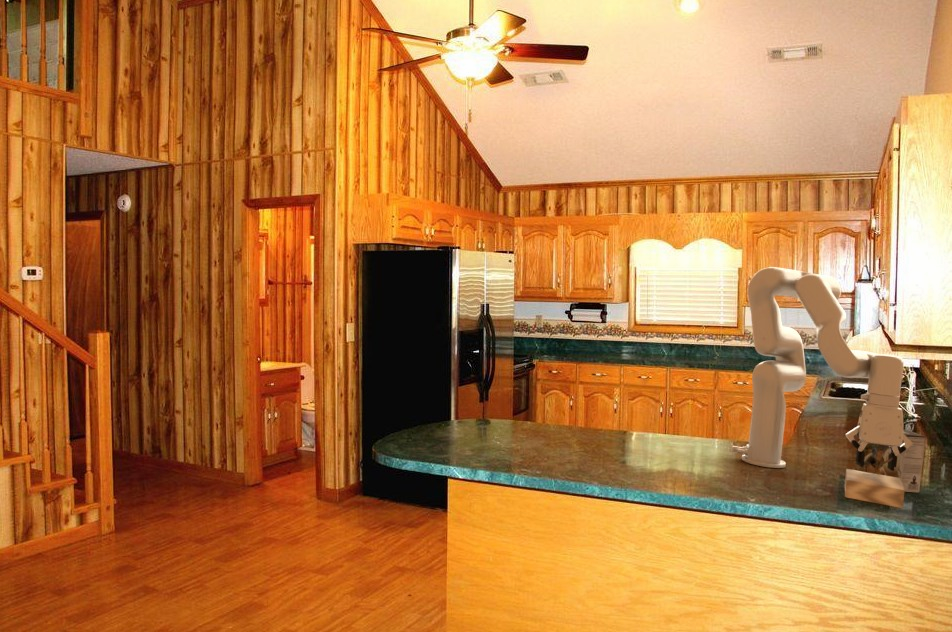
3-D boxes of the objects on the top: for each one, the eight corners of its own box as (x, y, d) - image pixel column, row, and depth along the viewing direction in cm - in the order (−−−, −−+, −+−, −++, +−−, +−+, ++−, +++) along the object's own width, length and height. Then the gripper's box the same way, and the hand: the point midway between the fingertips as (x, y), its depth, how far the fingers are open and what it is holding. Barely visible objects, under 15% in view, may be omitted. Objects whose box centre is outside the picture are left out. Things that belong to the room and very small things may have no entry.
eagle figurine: (899, 471, 186) (882, 457, 195) (888, 448, 185) (872, 435, 194) (870, 483, 187) (855, 468, 196) (860, 460, 186) (845, 447, 195)
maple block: (844, 498, 185) (846, 479, 185) (844, 486, 198) (846, 468, 198) (902, 509, 179) (904, 490, 179) (898, 496, 192) (900, 477, 192)
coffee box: (877, 482, 205) (883, 427, 204) (897, 483, 206) (904, 428, 205) (899, 491, 196) (905, 434, 195) (920, 493, 197) (927, 435, 196)
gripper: (850, 398, 186) (843, 466, 187) (924, 407, 182) (916, 475, 182) (843, 395, 193) (836, 460, 194) (914, 403, 189) (906, 469, 190)
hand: (875, 467), depth 188 cm, fingers closed on eagle figurine, 6 cm apart
